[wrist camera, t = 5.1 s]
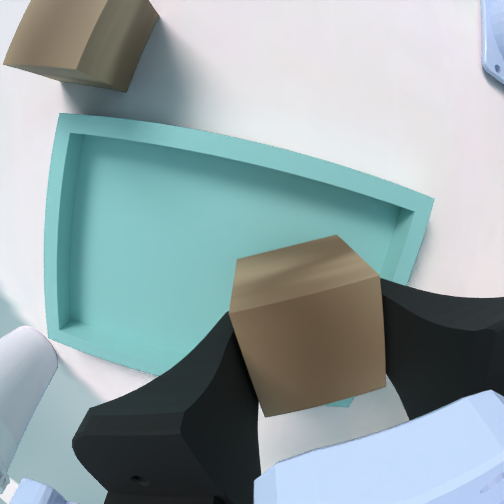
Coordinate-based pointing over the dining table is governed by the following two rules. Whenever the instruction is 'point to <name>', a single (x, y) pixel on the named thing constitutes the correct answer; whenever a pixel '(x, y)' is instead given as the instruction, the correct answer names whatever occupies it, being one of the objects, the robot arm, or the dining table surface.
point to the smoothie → (21, 387)
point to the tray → (192, 230)
